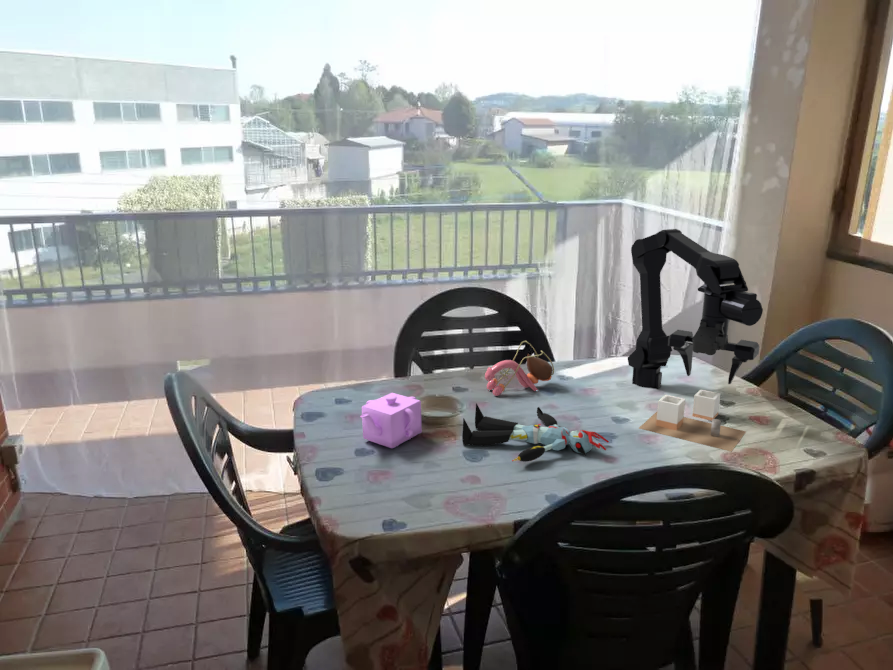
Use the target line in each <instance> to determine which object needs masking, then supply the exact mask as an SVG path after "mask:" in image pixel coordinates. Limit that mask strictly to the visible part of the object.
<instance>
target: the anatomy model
mask: <svg viewBox="0 0 893 670" xmlns="http://www.w3.org/2000/svg"><path fill="white" fill-rule="evenodd" d="M523 343H526V344H528V345H529V346H530V347H531V348H532V349H533V351H534V353H535V354H534V355H531V354H530V353H527V356H525V357H523V358H522V360H521V361H520V362H519V363H518V362H516V361H515V359H516V358H517V356H518V353H519V351H520V348H521V346H522V345H523ZM540 352H541V353H540V354H538V353H537V351H536V349H535V348H534V346H533V345H532V344H531V343H530V342H529V341H527V340H523V341H521V342H520V344H519V346H518V348H517V350H516V354H515V355H514V357H513V359H512V360H511V359H505V360H504V359H503V360H501V361H499V362H497V363H495V364H494V365H493V366H490V367H487V369H486V372H485V373H484V379H485V381H488V382H487V383H486V389H487V390H488V389H489V390H492V389H494V390H492V395H493V396H494V395H495V397H499V396H500V395H501V394H502V393H503V392H504V391H505V389H506V388H507V386H508V385H509V383H510V382H511V381H512V379H514V377H515V376H516V378H517V381H518V383H519V385H521V387H523V388H526V389H527V388H530V389H532V390H533V391H534V392H535V391H536V390H538V391H539V389H538V388H537V387H536V385H537V384H538V383H539V381H541V382H549V381H550V380H551V379H552V377H553V375H554V374H555V368H554V364H553V362H552V359H551V358H550V357H549V356H548V355H547V354H546V353H545V352H544V351H543V350H540ZM542 355H544V356H545V357H546V358H547V359H548V360H549V362H550V363H549V362H548V361H547V360H545V359H542V358H540V356H542ZM525 359H526V367H527V371H528V373H526V372H525V371H524V370H523V368H522V367H521V365H522V363H523V362H524V360H525ZM505 369H507V370H505ZM509 370H512V371H513V375H512V376H511V378H510V379H509V376H510V375H511V373H510V372H509ZM501 371H502V372H501ZM503 372H504V373H503ZM498 373H499V374H500V375H502V376H501V377H500V378H499V379H497V378H496V376H495V375H497V374H498ZM507 375H508V376H507ZM503 378H504V379H506V380H507V379H509V380H508V382H507V383H506V385H505V384H504V383H499V382H501V381H502V379H503ZM551 381H552V380H551ZM489 390H488V391H489ZM498 395H499V396H498Z"/></svg>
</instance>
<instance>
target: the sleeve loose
mask: <svg viewBox="0 0 893 670" xmlns="http://www.w3.org/2000/svg"><path fill="white" fill-rule="evenodd" d="M721 394H722V393H721V392H720V393H719V392H716V391H711V390H705V389H699V390H698V392H696V393H695V394H694V396H693V397H694V398H693V406H692V415H691V416H692V417H693V418H694V417H695V418H699V419H703V420H707V421H711V422H712V420H713V419H716V417H717V416H718V415H719V412H720V403H721Z"/></svg>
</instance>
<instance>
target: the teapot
mask: <svg viewBox="0 0 893 670" xmlns="http://www.w3.org/2000/svg"><path fill="white" fill-rule="evenodd" d="M359 418H361V421H362V422H361V423H362V438H364V439H363V440H366V439H367V440H366V441H370V442H371V443H375V444H377V445H380V446H384V447H386V448H390V449H394V448H397V447H398V446H399V445H401V444H403V443H405V442H407V441H408V440H412V439H413V438H414V437H416V436H417V435H419V434H421V433H423V432H422V430H423V429H422V401H421V400H420V399H417V397H415V396H406V395H402V394H398V393H394V392H389V393H388V394H385V395H383V396H382V397H379V398H376V399H369V400H367V401H366V403H365V404H364V405H362V406H361V415H360V416H359ZM411 438H412V439H411ZM396 446H397V447H396Z"/></svg>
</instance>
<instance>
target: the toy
mask: <svg viewBox="0 0 893 670" xmlns="http://www.w3.org/2000/svg"><path fill="white" fill-rule="evenodd" d="M536 415H537V419H538V420H540V421H541V422H542V423H538V424H532V425H531V424H530V425H523V424H519V422H516V421H509V420H506V419H500V418H495V417H491V416H487V415H485V416H484V414H483V412H482V411H481V408H480V407H479V405H478V403H477V402H475V416H474V427H475V429H477V430H471V428H470V426H469V425H468V422H467V421H466V420H465V418H464V417H463V420H462V432H461V433H462V435H461V436H462V439H461V440H462V445H463V446H468V445H469V446H470V445H471V447H472V446H473V447H474V446H476V447H487V446H488V447H489V446H495V445H500V444H504V443H508V442H509V441H520V442H521V441H524V442H526V443H530V444H534V446H530V447H527V448H526V449H523V450H522V451H520V452H519V453H518V456H517V457H516V458H514V459H512V460H511V461H512V462H516V461H519V462H523V463H524V462H525V463H526V462H527V463H528V462H532V461H534V460H537V459H539V458H540V457H543V455H544V454H545V453H546V452H547V451H549V450H553V451H561V450H564V449H566V446H568V445H570V447H571V449H572V450H573V451H574V452H575V453H578V454H582V455H583V456H585V457H587V453H589V452H590V451H591V449H592V448H593V446H594V447H596V448H597V449H603V450H604V451H607V448H606V447H605V446H603V445H602V444H601V442H598V443H596V442H595V441H594V439H593V438H595V439H598V440H599V439H602V440H603V441H604V442H606V443H607V444H608V443H609V441H608V440H607V439H606V438H605V437H604V436H602V435H601V434H599V433H597V432H596V431H588V430H583V429H580V430H578V429H576V430H572V431H570V430H569V429H568V428H566V427H564V426H563V427H561V426H559V425H558V421H557V419H556V418H555V417H554V416H552V415H550V414H548V413H545V412H543V411H542V409H541V407H540V406H538V407H537V409H536ZM541 424H543V425H544V426H541ZM539 443H540V444H542V445H543V446H541V445H536V444H539Z"/></svg>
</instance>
